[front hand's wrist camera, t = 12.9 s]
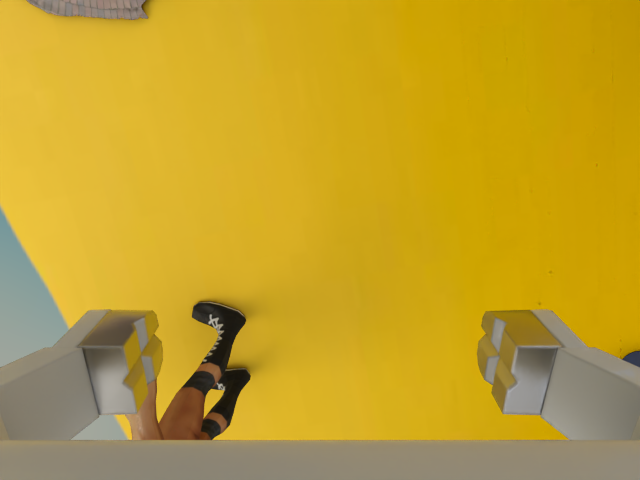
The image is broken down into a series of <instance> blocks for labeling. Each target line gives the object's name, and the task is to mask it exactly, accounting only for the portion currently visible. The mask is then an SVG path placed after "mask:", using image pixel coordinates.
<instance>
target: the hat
mask: <svg viewBox="0 0 640 480" xmlns="http://www.w3.org/2000/svg"><path fill="white" fill-rule="evenodd" d="M27 1H28V2H29V3H30V4H32V5H34V6H36V7H38V8H40V9H42V10H44V11H45V12H47V13H52V14H54V15H61V16H76V14H77V15H78V16H79V15H81V16H84V17H89V16H90V17H100V18H101V17H102V18H108V19H114V18H117V19H120V18H121V17H122V18H124V19H131V20H134V19H138V18H139V17H141V18H148V17H147V15H146V14H145V13H144V11H143V10H142V7H141V6H142V4H143V3H144V2H145V1H146V0H27Z"/></svg>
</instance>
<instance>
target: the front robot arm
mask: <svg viewBox="0 0 640 480" xmlns="http://www.w3.org/2000/svg"><path fill="white" fill-rule="evenodd" d="M158 326H159V325H158V320H157V315H156V314H155V312H154V311H149V310H111V309H109V310H90V311H88V312H87V313H86V314H85V315H84V316H83V317H82V318H81V319H80V320H79V321H78V322H77V323H76V324H75V325H74V326H73V327H72V328H71V329H70V330H69V331H68V332H67V333H66V334H65V335H64V336H63V337H62V338H61V339H60V340H59V341H58V342H57V343H56V344H55V345H54V346H53V347H52V348H43V349H41V350H38V351H36V352H34V353H32V354H29V355H27V356H25V357H23V358H21V359H18V360H16V361H14V362H11V363H9V364H7V365H5V366H2V367H0V480H640V367H637V366H635V365H633V364H631V363H629V362H626V361H624V360H622V359H620V358H617V357H615V356H613V355H611V354H608V353H606V352H604V351H602V350H599V349H597V348H588V347H587V346H586V345H585V344H584V343H583V342H582V341H581V340H580V339H579V338H578V337H577V336H576V335H575V334H574V333H573V332H572V331H571V330H570V329H569V328H568V327H567V326H566V325H565V324H564V323H563V322H562V321H561V320H560V318H559V317H558V316H557V315H556V314H555V313H554V312H553V311H550V310H547V309H543V310H511V311H486V312H485V314H484V316H483V319H482V325H481V326H482V328H483V330H484V331H485V333H486V334H485V335H484V336H483V338H482V339H481V340H480V341H479V343H478V350H477V357H478V365H479V369H480V372H481V374H482V376H483V378H484V380H486V381H487V382H489V383H490V384H492V385H493V387H492V395H493V397H494V398H495V400H496V402H497V404H498V406H499V408H500V409H501V411H502V413H503V414H520V415H541V417H542V418H543V419H544V420H545V421H547V422H548V423H549V424H551V425H552V426H553V427H554V428H556V429H557V430H558V431H559V432H561V433H562V434H563V435H565V436H566V437H567V438H568V439H570V440H70V439H72V438H73V437H74V436H76V435H77V434H78V433H79V432H80V431H82V430H83V429H84V428H86V427H87V426H88V425H90V424H91V423H92V422H93V421H95V420H96V419H97V418H99V415H120V414H137V413H138V411H139V409H140V408H141V406H142V404H143V402H144V400H145V398H146V397H147V395H148V387H147V385H148V384H150V383H151V382H153V381H154V380H156V378H157V376H158V374H159V372H160V369H161V364H162V360H163V349H162V342H161V341H160V340H159V339H158V338H157V336H156V335H155V334H154V333H155V331H156V330H157V328H158Z"/></svg>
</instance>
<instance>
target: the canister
mask: <svg viewBox="0 0 640 480" xmlns="http://www.w3.org/2000/svg"><path fill="white" fill-rule="evenodd" d="M623 360H624V361H626V362H629V363H631V364H633V365H635V366H637V367H640V351H636V352H633V353H630V354H629V355H627V356H626V357H625V358H624V359H623Z"/></svg>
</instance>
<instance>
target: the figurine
mask: <svg viewBox="0 0 640 480" xmlns="http://www.w3.org/2000/svg"><path fill="white" fill-rule="evenodd" d="M192 318H194V319H196V320H198V321H199V322H202V323H204V324H207V325H210V326H212V327H213V328H215V329H216V330H217V332H218V334H219V336H218V339H217V341H216V343H215V344H214V346H213V347H212V349H211V350H210V352H209V353H208V354H207V356H206V357H205V358H204V360H203V361H202V363H201V365H200V366H199V368H198V369H197V370H196V372H195V373H194V374H193V375H192V376H191V378H190V379H189V380H188V381H187V382H186V383H185V385H184V386H183V387H182V388H181V389H180V390H179V391H178V392H177V394H176V395H175V397H174V398H173V400H172V402H171V403H170V405H169V407H168V408H167V410H166V412H165V413H164V415H163V417H162V419H161V420H160V422H159V424H158V421H157V416H156V394H157V383H156V380H157V378H156V380H154V381H153V382H151V383H150V384H148V385H147V387H148V395H147V397H146V398H145V400H144V402H143V404H142V406H141V408H140V409H139V411H138V413H137V414H125V416H126V417H127V419H128V420H129V422H130V426H131V431H132V440H212V439H213V438H214V437H216V436H217V435H219V434H221V433H223V432H224V431H225V429H226V428H227V427H228V426H229V425H230V423H231V419H232V416H233V413H234V408H235V405H236V401H237V398H238V396H239V394H240V392H241V390H242V389H243V387H244V386H245V385H246V384H247V382H248V381H249V380H250V373H249V372H248V371H247V369H246V368H240V369H226V367H227V364H228V360H229V357H230V353H231V349H232V345H233V342H234V340H235V337H236V335H237V334H238V332H239V331H240V329H241V328H242V327H243V326H244V324H245V322H246V319H245V316H244V315H243V314H242V313H241V312H240V311H239V310H236V309H233V308H230V307H227V306H224V305H222V304H218V303H213V302H200V303H198V304H196V305H194V308H193V313H192ZM210 389H217V390H225V391H224V393H223V396H222V397H221V399H220V400H219V401H218V402H217V403H216V405H215V406H214V407H213V408H212V409H211V410H210V412H209V413H208V414H207V415H206V417H205V418H204V419H203V417H204V403H205V397H206V394H207V393H208V391H209V390H210Z"/></svg>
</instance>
